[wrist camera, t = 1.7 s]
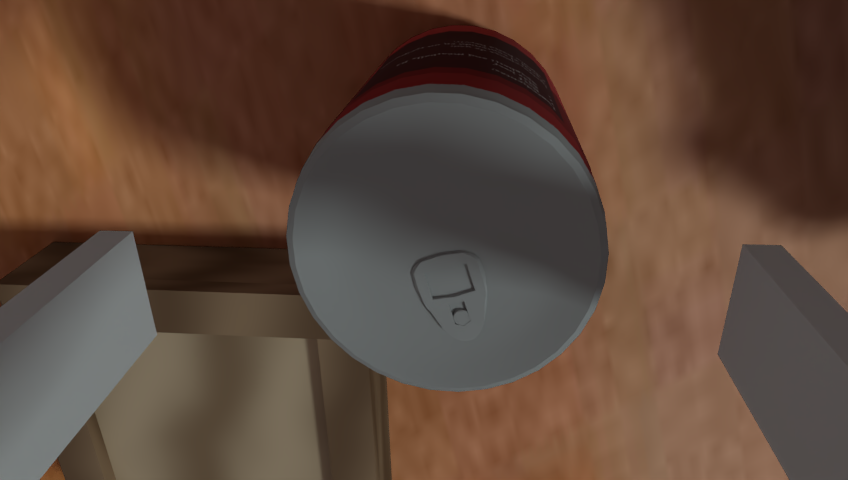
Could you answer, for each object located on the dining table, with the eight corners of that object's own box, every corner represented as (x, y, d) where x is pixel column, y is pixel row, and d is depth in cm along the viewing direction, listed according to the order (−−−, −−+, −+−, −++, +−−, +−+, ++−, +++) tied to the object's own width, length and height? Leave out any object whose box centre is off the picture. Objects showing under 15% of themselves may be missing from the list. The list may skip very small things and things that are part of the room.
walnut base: (379, 251, 27) (364, 297, 24) (392, 499, 34) (382, 563, 30) (53, 242, 29) (-6, 284, 25) (126, 482, 35) (88, 541, 32)
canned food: (433, 251, 27) (401, 434, 17) (324, 91, 24) (212, 200, 15) (598, 164, 25) (671, 320, 15) (497, -22, 22) (503, 16, 12)
